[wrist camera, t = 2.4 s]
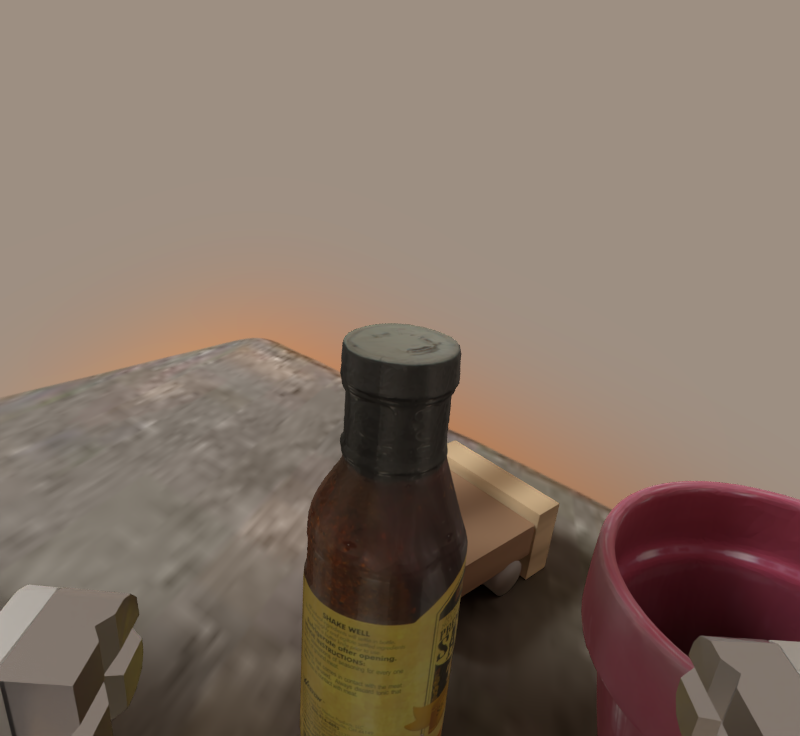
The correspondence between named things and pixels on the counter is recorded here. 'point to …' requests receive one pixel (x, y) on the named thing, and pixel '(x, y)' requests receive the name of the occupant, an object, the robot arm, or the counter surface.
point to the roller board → (499, 522)
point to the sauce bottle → (385, 545)
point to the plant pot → (684, 591)
